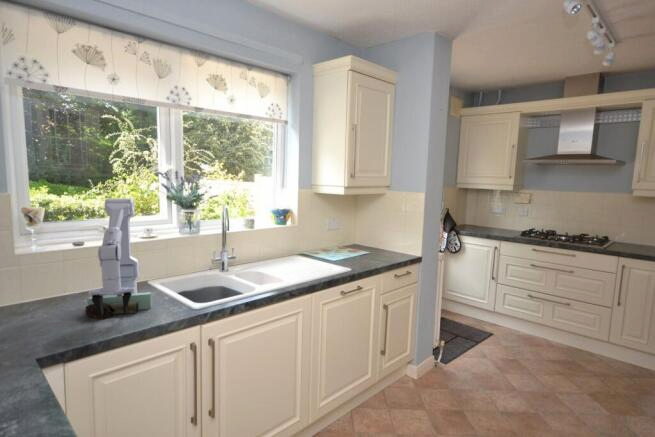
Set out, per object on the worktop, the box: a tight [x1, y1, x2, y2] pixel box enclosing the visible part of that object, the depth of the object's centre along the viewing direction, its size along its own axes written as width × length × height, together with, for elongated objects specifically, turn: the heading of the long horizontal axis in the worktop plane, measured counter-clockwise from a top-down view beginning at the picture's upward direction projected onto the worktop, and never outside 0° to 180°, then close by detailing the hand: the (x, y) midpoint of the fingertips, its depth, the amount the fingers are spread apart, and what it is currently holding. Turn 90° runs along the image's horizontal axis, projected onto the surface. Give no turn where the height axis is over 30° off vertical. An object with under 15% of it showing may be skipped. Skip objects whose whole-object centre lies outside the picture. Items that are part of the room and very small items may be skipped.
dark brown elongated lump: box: [85, 302, 139, 320], centre depth 143 cm, size 18×7×6 cm, turn 107°
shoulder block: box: [86, 291, 153, 311], centre depth 148 cm, size 3×22×7 cm, turn 108°
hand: (113, 313), depth 137 cm, fingers open, 7 cm apart
